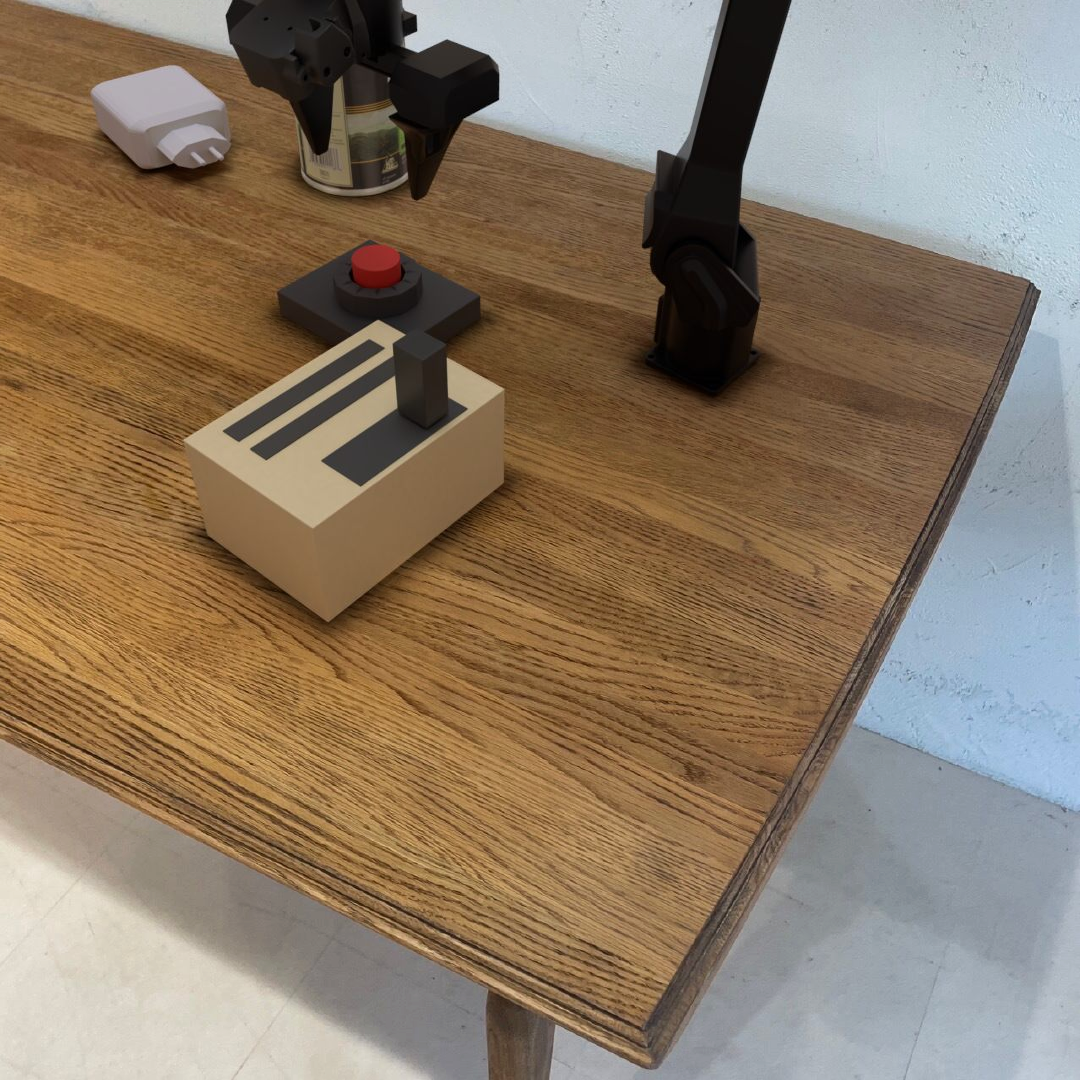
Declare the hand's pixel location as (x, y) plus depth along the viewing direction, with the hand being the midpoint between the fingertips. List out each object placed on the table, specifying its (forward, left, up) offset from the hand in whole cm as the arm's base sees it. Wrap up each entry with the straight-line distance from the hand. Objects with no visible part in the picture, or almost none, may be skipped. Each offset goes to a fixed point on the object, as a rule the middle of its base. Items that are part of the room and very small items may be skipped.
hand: (368, 175), depth 78 cm
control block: (+2, -2, -13) cm, 13 cm away
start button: (+2, -2, -10) cm, 10 cm away
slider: (-16, +12, -5) cm, 20 cm away
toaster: (-12, +14, -13) cm, 23 cm away
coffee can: (+20, -17, -13) cm, 29 cm away
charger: (+34, -8, -13) cm, 37 cm away
